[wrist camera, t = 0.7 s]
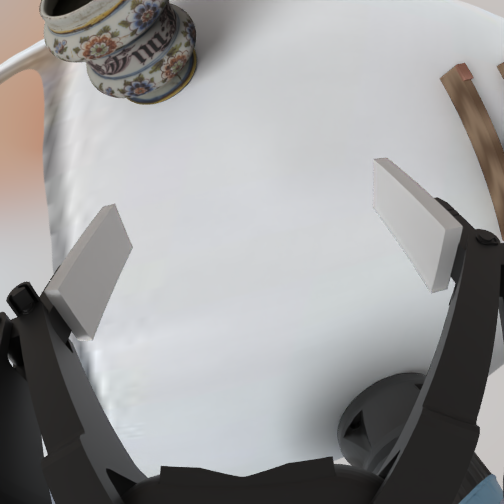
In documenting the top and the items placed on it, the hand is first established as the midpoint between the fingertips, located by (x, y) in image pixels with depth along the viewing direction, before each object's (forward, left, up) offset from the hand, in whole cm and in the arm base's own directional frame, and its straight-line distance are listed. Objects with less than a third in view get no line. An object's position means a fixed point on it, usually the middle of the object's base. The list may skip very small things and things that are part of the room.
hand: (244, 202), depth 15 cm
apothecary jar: (+21, +4, -17) cm, 27 cm away
